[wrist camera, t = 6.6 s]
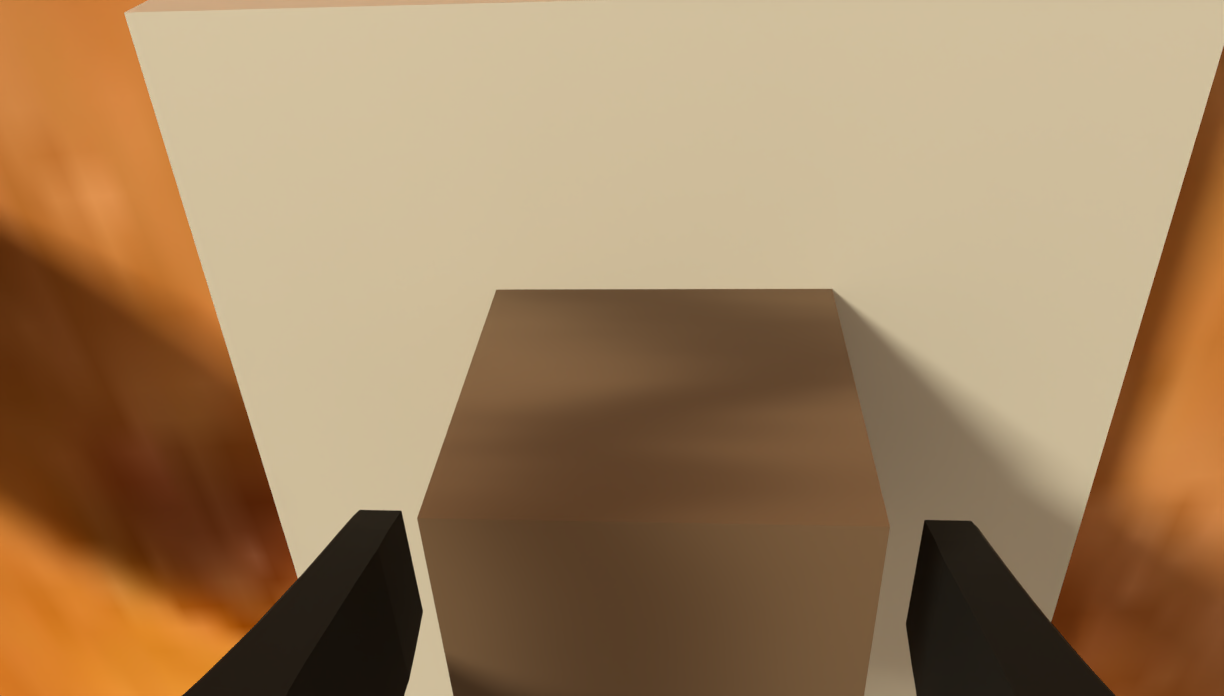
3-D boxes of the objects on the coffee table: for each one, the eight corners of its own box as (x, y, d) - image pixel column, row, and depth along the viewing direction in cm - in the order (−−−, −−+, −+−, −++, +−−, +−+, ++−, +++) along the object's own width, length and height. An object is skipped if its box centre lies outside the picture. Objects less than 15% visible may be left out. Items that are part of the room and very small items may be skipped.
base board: (1172, -51, 13) (1242, -17, 12) (995, 640, 21) (1021, 720, 19) (190, -21, 14) (124, 12, 13) (361, 622, 22) (334, 697, 20)
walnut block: (832, 289, 14) (889, 526, 10) (809, 538, 17) (846, 807, 13) (496, 289, 15) (417, 518, 10) (526, 532, 17) (472, 791, 13)
